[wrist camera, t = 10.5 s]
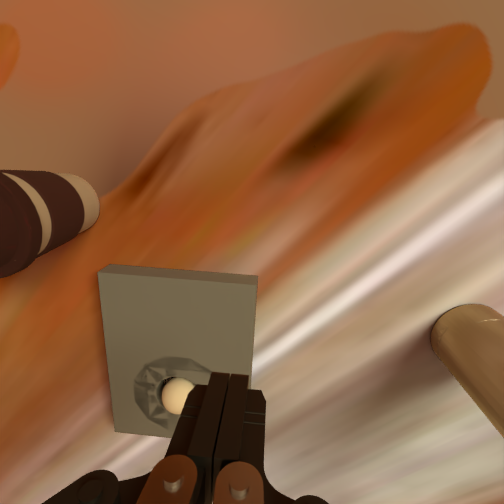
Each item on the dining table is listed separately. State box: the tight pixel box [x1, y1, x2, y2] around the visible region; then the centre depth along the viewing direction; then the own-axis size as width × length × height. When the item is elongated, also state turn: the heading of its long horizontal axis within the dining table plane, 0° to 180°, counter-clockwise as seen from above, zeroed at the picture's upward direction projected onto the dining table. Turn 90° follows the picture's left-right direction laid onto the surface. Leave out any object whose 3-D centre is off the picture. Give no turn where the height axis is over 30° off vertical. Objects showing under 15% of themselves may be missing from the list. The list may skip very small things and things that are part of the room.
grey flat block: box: [97, 264, 258, 438], centre depth 43 cm, size 20×26×3 cm
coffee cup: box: [0, 170, 100, 278], centre depth 31 cm, size 10×10×15 cm
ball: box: [162, 377, 196, 414], centre depth 43 cm, size 5×5×5 cm
